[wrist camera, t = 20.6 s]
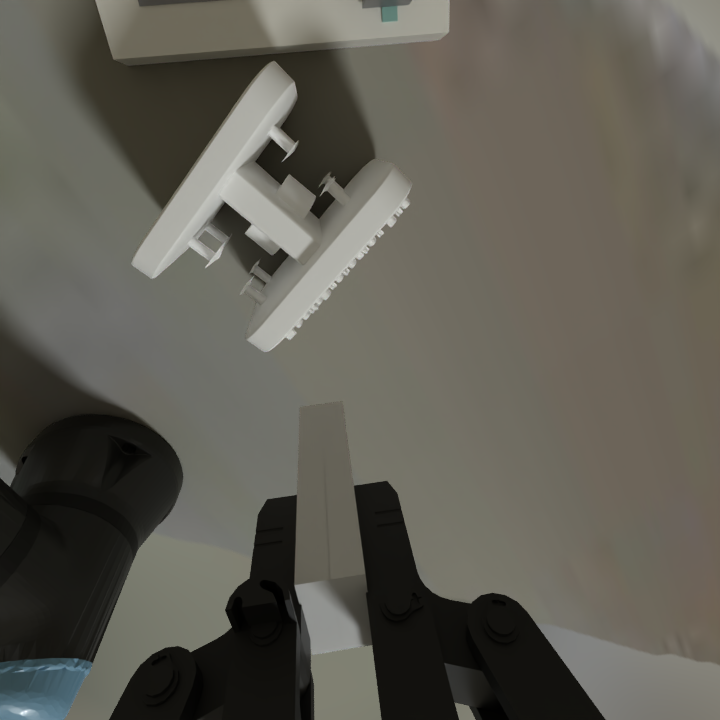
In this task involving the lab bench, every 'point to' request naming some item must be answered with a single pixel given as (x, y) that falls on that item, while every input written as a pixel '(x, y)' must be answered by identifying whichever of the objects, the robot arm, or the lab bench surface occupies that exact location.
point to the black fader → (384, 3)
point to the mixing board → (259, 27)
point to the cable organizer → (274, 212)
